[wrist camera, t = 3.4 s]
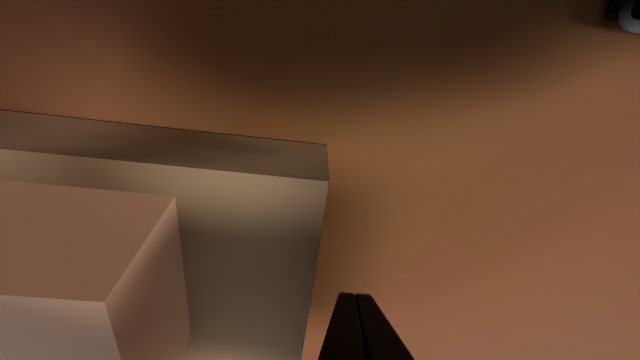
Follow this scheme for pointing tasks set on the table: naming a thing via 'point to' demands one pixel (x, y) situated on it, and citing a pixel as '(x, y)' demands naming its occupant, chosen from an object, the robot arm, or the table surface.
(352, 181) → the table surface
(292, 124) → the table surface
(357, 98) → the table surface
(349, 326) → the robot arm
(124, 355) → the tile
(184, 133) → the board
